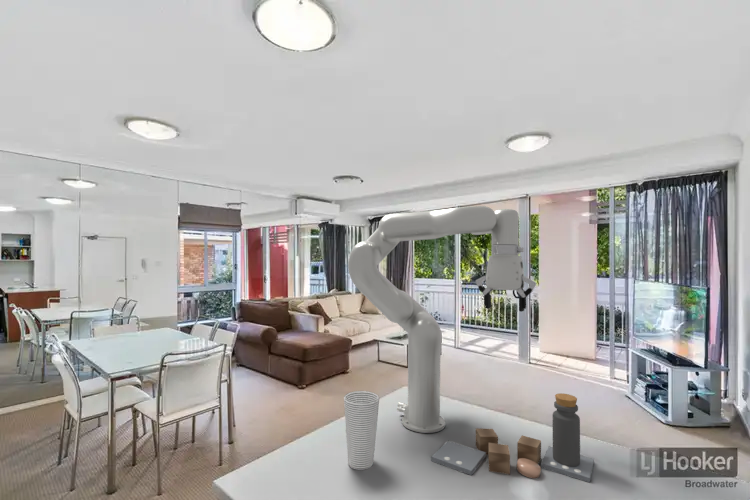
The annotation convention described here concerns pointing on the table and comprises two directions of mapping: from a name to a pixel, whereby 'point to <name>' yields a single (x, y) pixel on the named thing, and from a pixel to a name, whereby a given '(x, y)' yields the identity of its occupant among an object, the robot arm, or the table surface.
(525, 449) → the block
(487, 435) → the block
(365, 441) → the cup
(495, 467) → the block
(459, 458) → the pad two
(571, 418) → the bottle
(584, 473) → the pad three
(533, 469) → the peach glossy rounded part
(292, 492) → the table surface
